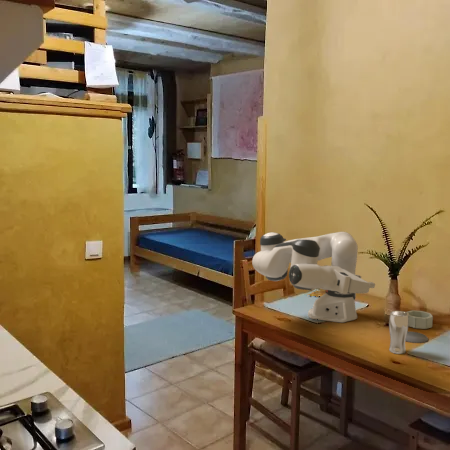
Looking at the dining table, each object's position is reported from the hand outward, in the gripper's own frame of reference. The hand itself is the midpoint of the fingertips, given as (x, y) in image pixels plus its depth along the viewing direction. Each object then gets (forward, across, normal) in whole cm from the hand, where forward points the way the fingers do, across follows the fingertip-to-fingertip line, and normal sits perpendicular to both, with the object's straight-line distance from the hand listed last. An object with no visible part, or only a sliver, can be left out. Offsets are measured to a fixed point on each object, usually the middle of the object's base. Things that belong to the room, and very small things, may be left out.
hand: (366, 281), depth 185 cm
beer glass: (+19, +1, -26) cm, 32 cm away
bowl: (+44, -21, -23) cm, 54 cm away
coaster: (+33, -9, -24) cm, 42 cm away
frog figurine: (+26, -76, -28) cm, 85 cm away
